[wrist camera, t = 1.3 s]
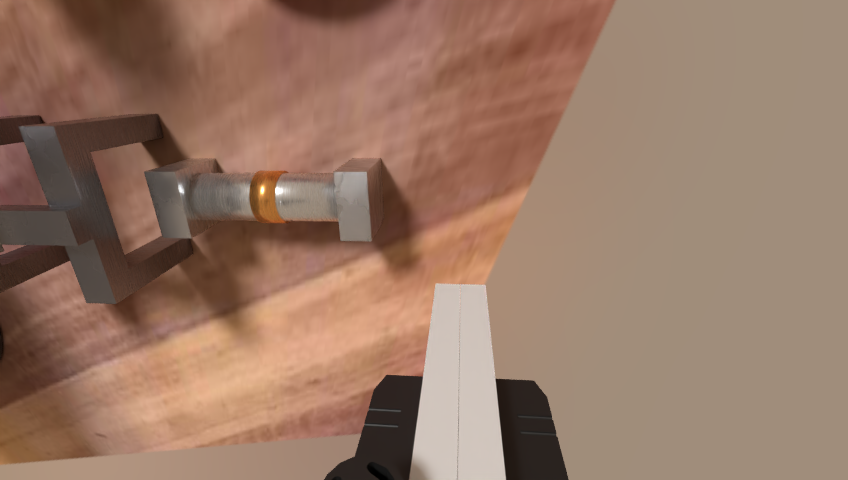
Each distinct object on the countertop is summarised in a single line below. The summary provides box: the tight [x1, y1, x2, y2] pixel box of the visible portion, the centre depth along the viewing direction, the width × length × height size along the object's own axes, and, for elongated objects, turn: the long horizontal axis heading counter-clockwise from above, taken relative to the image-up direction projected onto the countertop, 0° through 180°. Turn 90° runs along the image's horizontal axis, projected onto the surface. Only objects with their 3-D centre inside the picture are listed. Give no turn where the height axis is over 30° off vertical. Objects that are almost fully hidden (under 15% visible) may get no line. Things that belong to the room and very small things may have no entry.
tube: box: [144, 158, 384, 241], centre depth 27 cm, size 14×4×4 cm, turn 91°
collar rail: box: [0, 114, 193, 304], centre depth 26 cm, size 11×11×9 cm
